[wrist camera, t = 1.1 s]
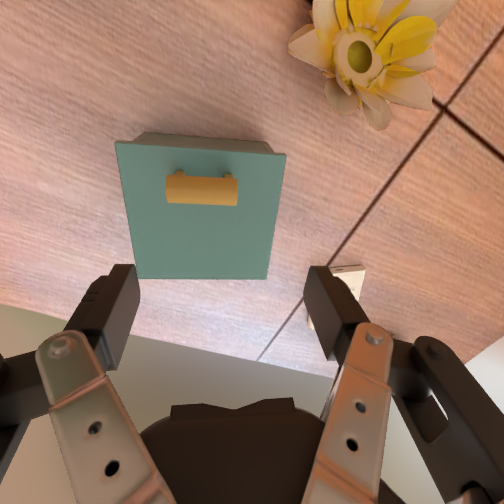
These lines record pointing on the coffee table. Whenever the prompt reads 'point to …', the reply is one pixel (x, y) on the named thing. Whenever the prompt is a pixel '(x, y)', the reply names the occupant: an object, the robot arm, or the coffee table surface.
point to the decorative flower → (372, 52)
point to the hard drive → (348, 281)
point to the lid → (200, 209)
